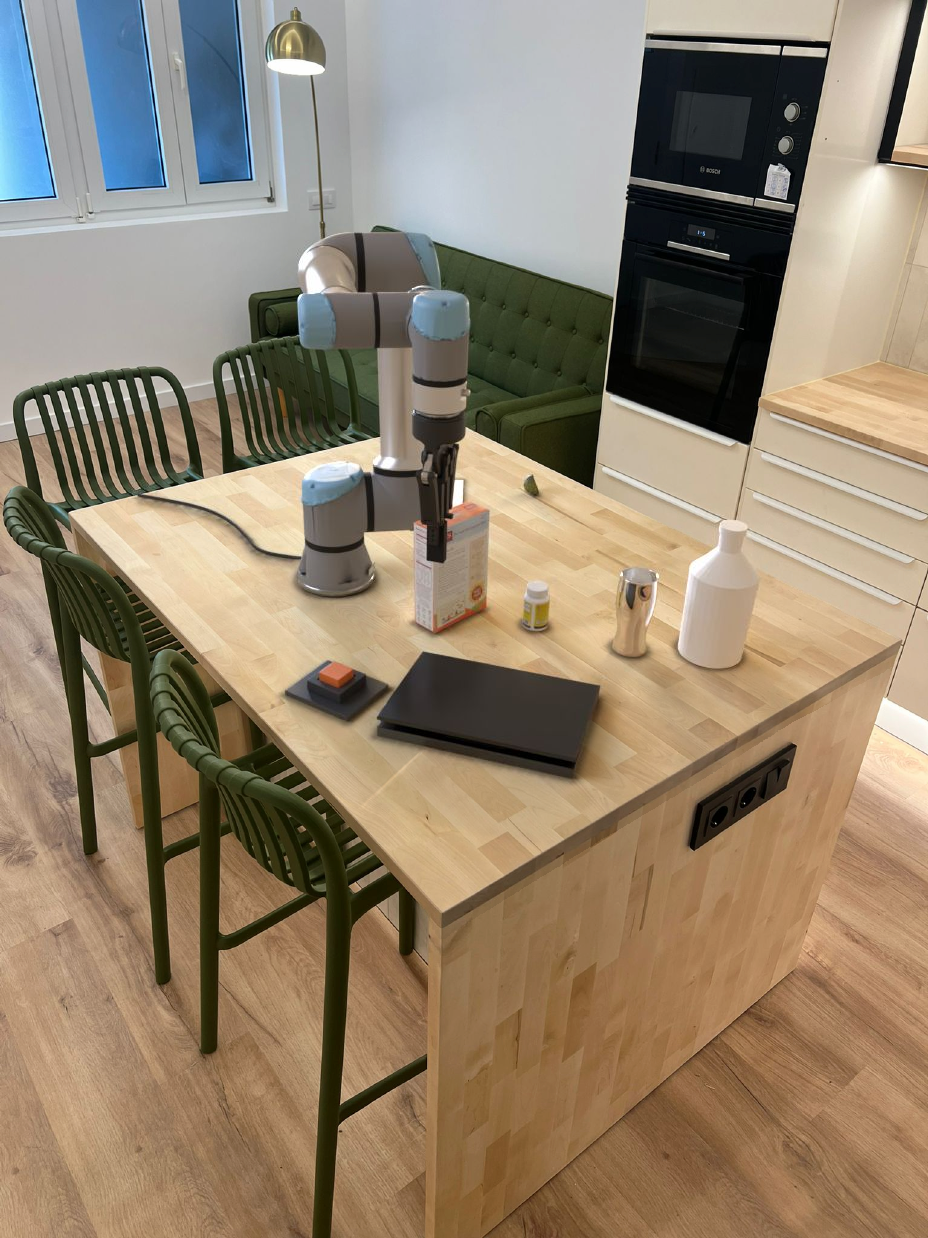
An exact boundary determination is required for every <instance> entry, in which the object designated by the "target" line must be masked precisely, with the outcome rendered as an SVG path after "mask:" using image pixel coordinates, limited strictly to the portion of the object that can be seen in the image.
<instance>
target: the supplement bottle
mask: <svg viewBox="0 0 928 1238" xmlns="http://www.w3.org/2000/svg"><path fill="white" fill-rule="evenodd" d="M550 601H551V598H550V595H549V585H548V583H546V582H544V581H541V580H533V581H529V582H528V583H527V584H526V589H525V594H524V596H523V603H522V604H523V605H522V606H523V607H522V626H523V628H524V629H526V630H528V631H531V632H542V631H544V630H546V629H547V628H548V625H549V615H550V603H551V602H550Z"/></svg>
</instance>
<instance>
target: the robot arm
mask: <svg viewBox="0 0 928 1238" xmlns="http://www.w3.org/2000/svg"><path fill="white" fill-rule="evenodd" d="M297 281H298V286H299V288H300V290H301V291H302V294H300V295H299V296H298V298H297V319H298V334H299V342H300V345H301V346H302V347H303V348H304V349H306V350H322V351H325V352H326V351H330V350H359V349H360V350H361V349H362V350H363V349H376V350H377V379H378V381H377V382H378V383H377V384H378V408H379V412H378V413H379V440H380V441H379V442H380V443H379V444H380V446H379V447H380V453H379V455H378V456H377V457H376V458H375V459H374V460H373V461H372V471H364V470H363V468H362V467H361V465H360V464H358V463H355V462H348V461H334V462H333V461H332V462H328V463H323V464H320V465H318V466H316V467H314V468H312V469H311V470H309V471H308V472H307V473H306V474H305V475H304V476H303V478H302V481H301V497H300V502H301V504H302V516H303V517H302V518H303V519H302V520H303V536H304V547H303V551H302V552H301V553H302V554H301V555H292V554H285V553H280V552H279V553H278V552H272V551H268V550H265V549H263V548H260V546H258V545H256V544H255V542H254V540H253V539H252V538H251V536H249V535H248V534H247V533H246V532H245V530H243V529H242V528H241V527H240V526H239V525H238V524H237V523H235V522H234V521H233V520H232V519H230V518H228V517H227V516H225V515H223V514H222V513H220V512H218V511H215V510H213V509H210V508H208V507H205V506H202V505H198V504H195V503H191V502H186V501H182V500H176V499H171V498H166V497H161V496H155V495H151V494H150V495H149V494H144V493H137V494H136V496H137V497H138V498H142V499H149V500H154V501H160V502H165V503H170V504H171V503H172V504H174V505H175V504H176V505H182V506H186V507H190V508H194V509H197V510H200V511H204V512H207V513H209V514H212V515H214V516H216V517H218V518H220V519H222V520H224V521H225V522H227V523H228V524H230V525H231V526H232V527H234V528H235V529H236V530H237V531H238V532H239V533H240V534H241V536H243V537H244V538H245V539H246V540H247V541H248V543H249V544H250V546H251V548H253V549H254V550H255V551H257V552H258V553H261V554H263V555H266V556H270V557H275V558H281V559H289V560H297V561H299V564H298V567H297V582H298V584H299V586H300V587H301V588H302V589H303V590H304V591H307V592H308V593H311V594H314V595H318V596H321V597H333V598H334V597H335V598H336V597H345V596H352V595H355V594H358V593H361V592H363V591H365V590H366V589H369V587H370V586H372V584H373V583H374V581H375V569H376V562H373V561H372V559H371V556H370V554H369V551H368V549H367V545H366V543H365V533H381V532H382V533H384V532H385V533H386V532H402V531H404V532H405V531H409V532H414V522H416V521H419V520H421V523H422V525H427V554H426V561H432V562H437V563H444V562H445V560H446V554H447V520H445V518H446V519H453V515H454V514H451V513H449V510H451V509H452V507H453V494H454V483H455V480H456V472H457V463H458V462H457V461H458V456H459V455H458V454H459V450H460V444H459V442H461V441H463V439H465V437H466V432H467V430H466V429H467V413H466V411H465V409H466V408H467V398H468V397H470V396H471V390H470V389H467V385H468V368H469V366H468V365H469V364H468V363H469V341H470V328H471V325H472V323H471V318H470V301H469V299H468V298H467V296H466V295H465V294H463V293H460V292H458V291H454V290H449V289H448V290H447V289H442V282H441V281H442V279H441V271H440V265H439V259H438V255H437V251H436V246H435V244H434V242H433V240H432V238H431V237H430V236H429V235H427V234H426V233H423V232H422V233H421V232H410V231H405V230H404V231H391V232H390V231H389V232H388V231H387V232H385V231H384V232H381V231H379V232H374V231H373V232H372V231H371V232H369V231H368V232H354V231H346V232H339V233H335V234H332V235H328V236H326V237H324V238H322V239H320V240H318V241H316V242H314V244H311V245H310V246H309V247H308V248H307V249H306V250H305V251H304V253H303V254H302V256H301V257H300V259H299V262H298V266H297Z"/></svg>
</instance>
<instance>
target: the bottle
mask: <svg viewBox="0 0 928 1238" xmlns="http://www.w3.org/2000/svg"><path fill="white" fill-rule="evenodd" d="M718 527H719V528H718V532H719V537H718V543H717V546H716V547H715V548H713V549H712V550H710V551H709V552H708V553H706V554H704V555H703V556H701V557H699V558H697V559H695V560H694V561H692V562H691V563H690V565H689V569H688V570H689V571H688V576H687V583H686V584H687V585H686V591H685V596H684V597H685V598H684V603H683V609H682V610H683V611H682V616H681V617H682V618H681V624H680V630H679V637H678V643H677V650H678V652H679V654H680V655H681V657H683V658H684V659H685V660H686V661H687V662H689V663H692V664H694V665H696V666H700V667H703V668H708V669H719V670H721V669H728V668H731V667H734V666H736V665H738V664H739V663H740V662H741V661H742V657H743V654H744V649H745V646H746V641H747V637H748V633H749V628H750V623H751V620H752V615H753V611H754V606H755V603H756V598H757V594H758V590H759V586H760V581H761V574H760V571H758V569H757V568H756V567H755V566H754V565H753V564H752V563H751V562H750V560H749V559H748V558H747V556H746V555H745V553H744V551H742V549H743V543H744V540H745V537H746V536H747V534H748V529H749V526H748V525H747V523H745V522H743V521H741V520H737V519H736V520H735V519H723V520H722V521H720V523H719V526H718Z"/></svg>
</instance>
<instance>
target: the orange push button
mask: <svg viewBox="0 0 928 1238" xmlns="http://www.w3.org/2000/svg"><path fill="white" fill-rule="evenodd" d="M334 661H335V660H333V661H331V660H328V659H327V660H326V661H324V662H322V663H321V664H320V665H319V666H317V667H316V668H314V669H313V670H312V671H310V672H308V674H305V675H304V676H303V677H302V678H300V679H298V680H297V681H296V682H295V683H293V684H292V685H290V686H289V687H288V688H286V689H285V690H284V695H285V696H286V697H288V698H291V699H294V700H295V701H298V702H301V703H303V704H305V705H307V706H309V707H312V708H314V709H316V710H319V711H321V712H324V713H326V714H328V715H331V716H333V717H335V718H337V719H340V720H341V721H342V720H343V721H345V722H346V723H348V722H350V721H352V719H353V718H355V717H356V716H357V715H358V714H360V713H361V712H363V711H364V710H365V709H366V708H367V707H368V706H370V705H371V704H372V703H373V702H375V701H376V700H377V699H378V698H380V697H381V696H383V694H384V693H386V692H387V691H388V690H389V687H390V686H389V684H388V683H387V682H383V681H381V680H379V679H376V678H373V677H371V676H368V675H367V674H366V673H364V672H362V671H359V670H356V669H354V668H353V671H354V677H353V678H352V679H351V680H349V681H348V682H347V683H345V684H344V685H343V686H341V687H340V688H336V687H334V686H331V685H329V684H327V683H324V682H322V681H319V672H320V671H322V670H323V669H324V668H326V667H327V666H329V665H330V664H331V663H333V662H334Z"/></svg>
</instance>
